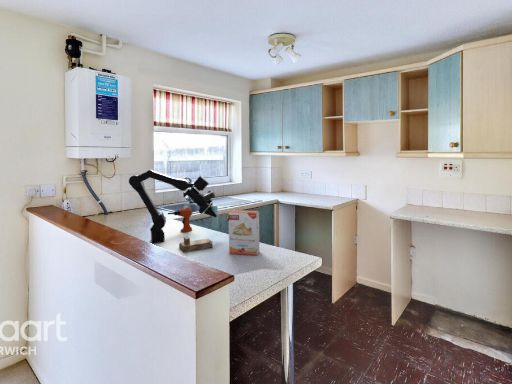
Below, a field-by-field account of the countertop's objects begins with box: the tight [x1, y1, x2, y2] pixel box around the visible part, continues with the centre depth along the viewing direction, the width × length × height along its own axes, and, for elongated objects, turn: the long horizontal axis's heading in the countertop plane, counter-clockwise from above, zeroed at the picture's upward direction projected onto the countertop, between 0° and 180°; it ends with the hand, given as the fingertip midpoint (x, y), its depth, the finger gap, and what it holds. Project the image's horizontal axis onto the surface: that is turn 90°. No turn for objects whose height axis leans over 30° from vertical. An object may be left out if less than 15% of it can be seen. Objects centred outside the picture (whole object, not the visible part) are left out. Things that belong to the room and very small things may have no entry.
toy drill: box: [167, 207, 193, 233], centre depth 196 cm, size 5×19×15 cm, turn 144°
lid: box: [179, 236, 214, 247], centre depth 167 cm, size 15×7×4 cm, turn 116°
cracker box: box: [227, 209, 260, 256], centre depth 156 cm, size 14×6×21 cm, turn 76°
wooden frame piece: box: [178, 242, 214, 253], centre depth 167 cm, size 15×9×2 cm, turn 116°
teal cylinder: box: [210, 204, 219, 230], centre depth 182 cm, size 4×4×13 cm
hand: (216, 216), depth 181 cm, fingers closed on teal cylinder, 4 cm apart
